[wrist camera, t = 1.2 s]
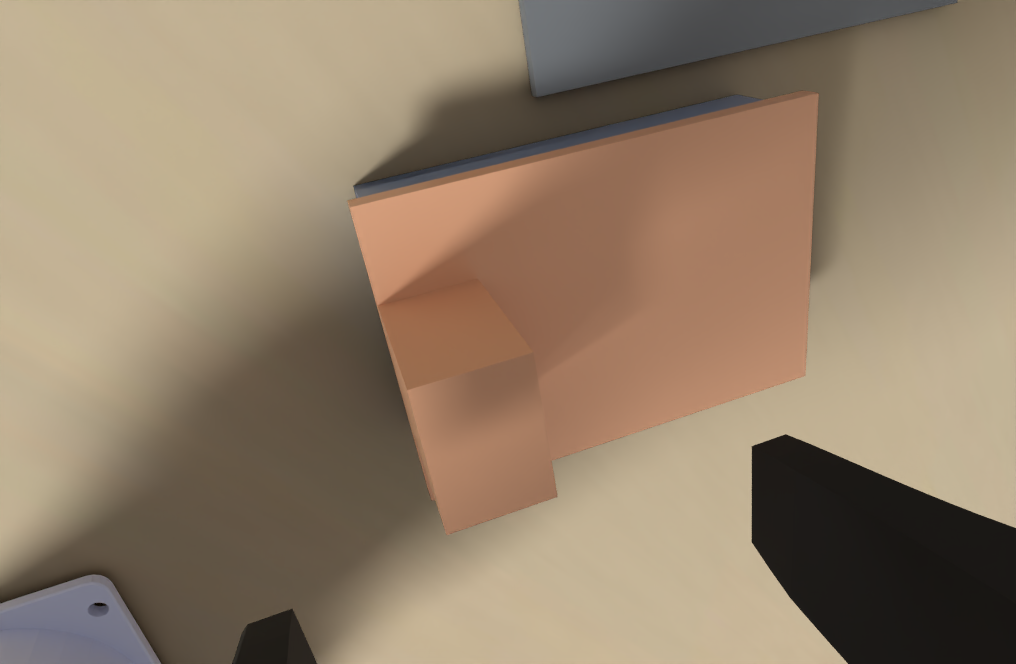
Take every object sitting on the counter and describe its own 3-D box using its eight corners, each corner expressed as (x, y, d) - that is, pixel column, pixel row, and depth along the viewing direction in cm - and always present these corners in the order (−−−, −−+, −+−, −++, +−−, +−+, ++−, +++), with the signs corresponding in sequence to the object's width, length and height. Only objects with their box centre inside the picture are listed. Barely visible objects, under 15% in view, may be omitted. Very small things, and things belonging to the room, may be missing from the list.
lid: (773, 354, 22) (912, 450, 17) (421, 468, 20) (468, 614, 15) (779, 86, 18) (959, 115, 13) (343, 191, 16) (374, 269, 11)
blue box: (738, 329, 23) (784, 361, 21) (419, 428, 21) (435, 475, 19) (736, 94, 20) (791, 105, 17) (353, 186, 17) (364, 210, 15)
